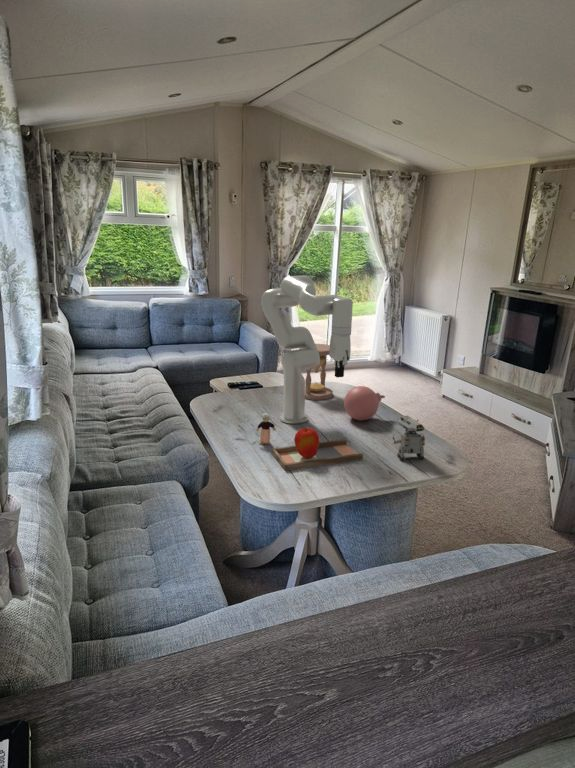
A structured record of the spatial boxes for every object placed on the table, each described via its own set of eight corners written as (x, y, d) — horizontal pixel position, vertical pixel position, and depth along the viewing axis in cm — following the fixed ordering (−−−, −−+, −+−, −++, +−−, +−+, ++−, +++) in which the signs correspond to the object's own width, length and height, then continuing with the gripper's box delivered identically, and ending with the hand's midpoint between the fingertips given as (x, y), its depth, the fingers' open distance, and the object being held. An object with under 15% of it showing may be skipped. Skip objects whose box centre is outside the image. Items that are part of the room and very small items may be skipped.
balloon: (392, 422, 237) (395, 389, 232) (352, 427, 230) (354, 393, 225) (375, 411, 250) (377, 379, 246) (337, 415, 244) (339, 383, 239)
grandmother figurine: (257, 445, 209) (257, 415, 205) (255, 442, 212) (255, 412, 209) (276, 444, 211) (276, 414, 207) (274, 440, 214) (274, 410, 211)
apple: (293, 462, 196) (290, 432, 192) (299, 450, 204) (296, 422, 200) (318, 463, 194) (314, 433, 190) (323, 451, 202) (320, 422, 198)
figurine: (413, 449, 208) (416, 413, 204) (425, 461, 198) (429, 424, 193) (391, 450, 207) (394, 414, 203) (402, 463, 196) (405, 425, 192)
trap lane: (271, 453, 202) (271, 448, 201) (345, 444, 212) (345, 439, 211) (284, 470, 188) (284, 465, 188) (362, 459, 199) (363, 454, 198)
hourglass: (316, 387, 284) (317, 342, 277) (339, 395, 272) (341, 348, 264) (291, 393, 273) (292, 346, 266) (314, 402, 261) (316, 353, 253)
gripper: (324, 327, 208) (322, 372, 213) (340, 334, 194) (338, 382, 200) (341, 326, 210) (339, 371, 216) (359, 333, 197) (356, 381, 202)
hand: (339, 376), depth 208 cm, fingers closed
